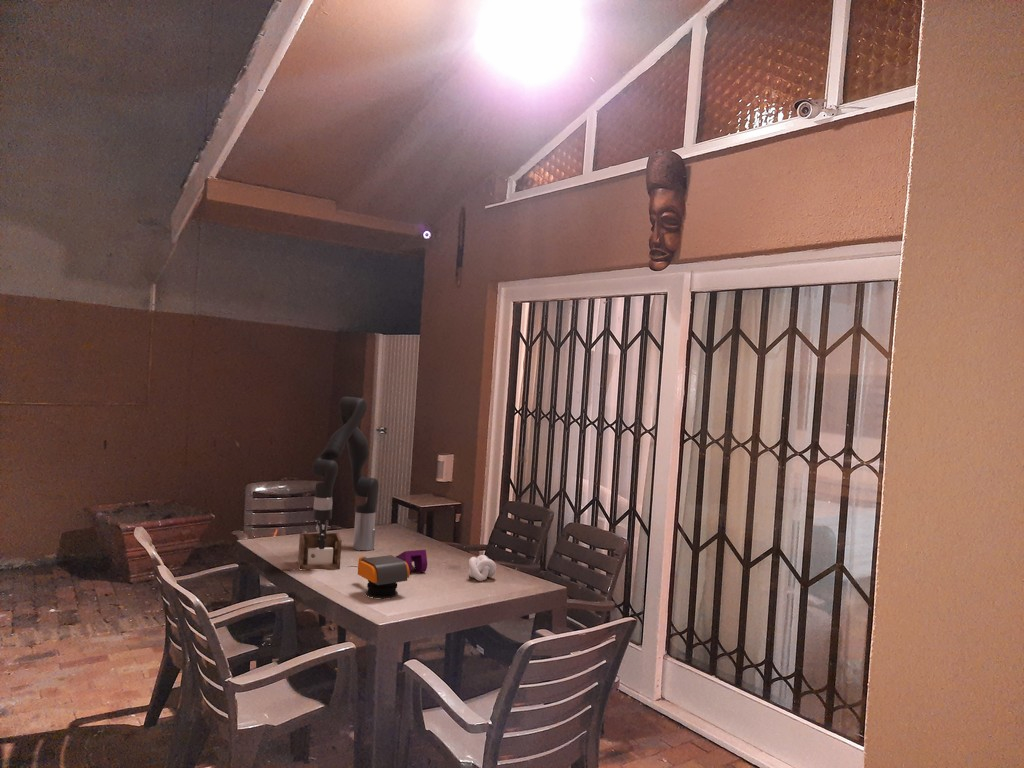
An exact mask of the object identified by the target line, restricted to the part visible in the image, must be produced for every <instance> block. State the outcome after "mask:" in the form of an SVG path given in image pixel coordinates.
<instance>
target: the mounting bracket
mask: <svg viewBox="0 0 1024 768" xmlns="http://www.w3.org/2000/svg"><path fill="white" fill-rule="evenodd" d="M395 557H397V558H399V559H401V560H403V561H405V562H406V563H407V564H408V566H409V573H411V571H412V568H413V565H412V564H414V568H415V571H416V572H417V573H425V572H426V571H427V569H428V558H427V557H428V556H427V550H426V549H418V550H416V549H415V550H405V551H403V552H401V553H399V554H398V555H395Z"/></svg>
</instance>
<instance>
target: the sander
mask: <svg viewBox="0 0 1024 768" xmlns="http://www.w3.org/2000/svg"><path fill="white" fill-rule="evenodd" d="M410 573H411V572H410ZM410 573H409V566H408V564H407V563H406V562H405V561H403V560H401V559H399V558H397V557H396V556H394V555H392V554H389V555H381V556H373V557H366V556H364V555H362V556H360V557H359V558H358V563H357V576H359V577H361V578H363V579H365V580H367V584H366V586H367V590H366V591H365V593H366V595H367V596H366V595H365V596H366V597H368V596H369V597H368V598H370V597H373V598H372V599H374V598H381V599H380V600H387V599H386V598H390V599H393V597H394V598H396V597H398V595H399V592H398V591H397V588H398V583H401V582H408V579H409V578H410ZM395 596H396V597H395ZM384 598H385V599H384Z"/></svg>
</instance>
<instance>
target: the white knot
mask: <svg viewBox="0 0 1024 768" xmlns="http://www.w3.org/2000/svg"><path fill="white" fill-rule="evenodd" d="M468 566H469V567H468V568H469V571H468V576H469V577H470V578H471V579H472V578H474V579H475V580H476V581H478V582H483V580H484V581H485V580H487V579H488V578H487V577H489V578H492V577H493V576H495V574H496V571H497V565H496V562H495V561H494V560H492V559H490V558H489V557H488V556H487V555H485V554H480V555H478V556H477V557H476V556H471V557H470V558H469V560H468Z"/></svg>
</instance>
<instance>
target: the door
mask: <svg viewBox="0 0 1024 768" xmlns="http://www.w3.org/2000/svg"><path fill="white" fill-rule="evenodd" d="M332 562H333V547H329V548H324V549H319V548H308V553H307V564H332Z"/></svg>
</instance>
